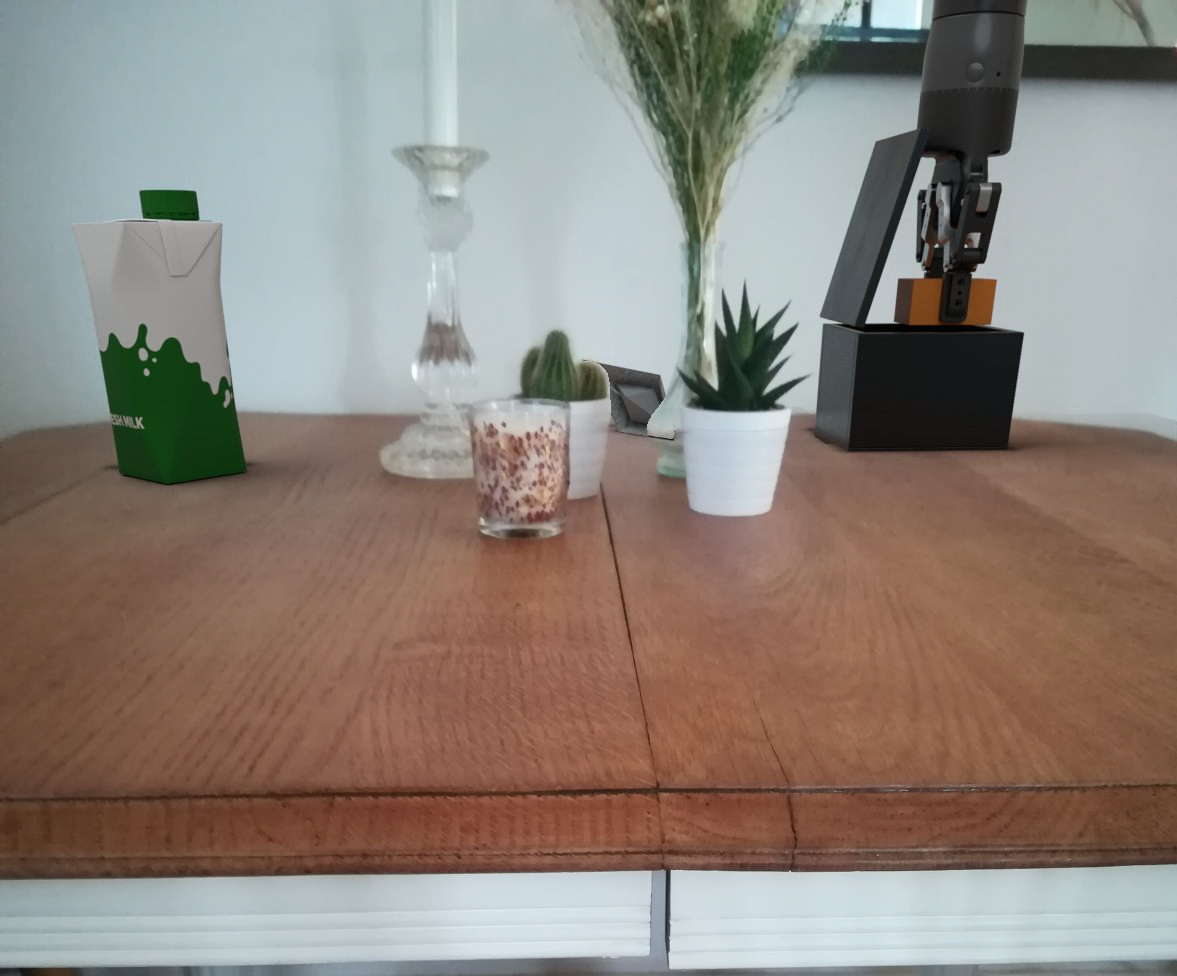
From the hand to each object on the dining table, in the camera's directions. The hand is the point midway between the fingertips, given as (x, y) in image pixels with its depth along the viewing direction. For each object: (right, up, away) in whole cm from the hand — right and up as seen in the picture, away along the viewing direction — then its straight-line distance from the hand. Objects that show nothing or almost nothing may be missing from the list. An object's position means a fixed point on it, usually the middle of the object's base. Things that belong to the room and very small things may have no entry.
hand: (942, 319), depth 99 cm
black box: (-2, -10, +4) cm, 11 cm away
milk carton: (-62, -15, -7) cm, 65 cm away
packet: (0, 0, 0) cm, 0 cm away
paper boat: (-26, -6, +12) cm, 29 cm away
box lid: (-7, +6, -3) cm, 9 cm away
